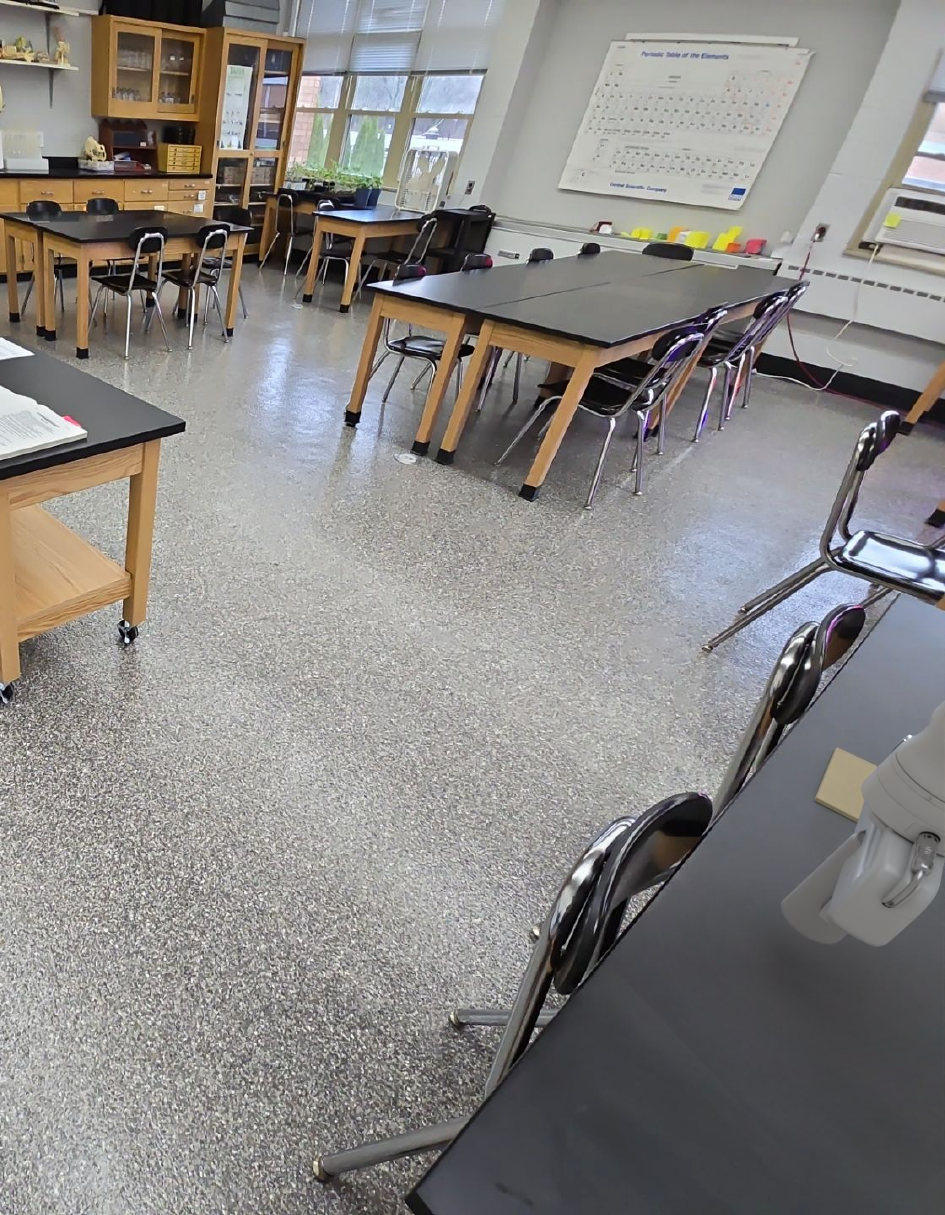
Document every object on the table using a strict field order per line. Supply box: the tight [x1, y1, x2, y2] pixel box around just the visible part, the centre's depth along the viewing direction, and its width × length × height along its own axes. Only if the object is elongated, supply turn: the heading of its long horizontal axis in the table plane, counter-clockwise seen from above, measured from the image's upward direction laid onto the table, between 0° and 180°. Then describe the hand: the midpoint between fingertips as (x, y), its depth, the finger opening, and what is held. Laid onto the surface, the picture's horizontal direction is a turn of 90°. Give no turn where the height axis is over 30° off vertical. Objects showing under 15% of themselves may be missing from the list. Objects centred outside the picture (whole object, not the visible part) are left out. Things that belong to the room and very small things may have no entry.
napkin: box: [813, 747, 878, 823], centre depth 92 cm, size 13×4×1 cm, turn 132°
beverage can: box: [780, 829, 866, 945], centre depth 67 cm, size 5×5×12 cm
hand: (836, 897), depth 68 cm, fingers closed on beverage can, 5 cm apart
